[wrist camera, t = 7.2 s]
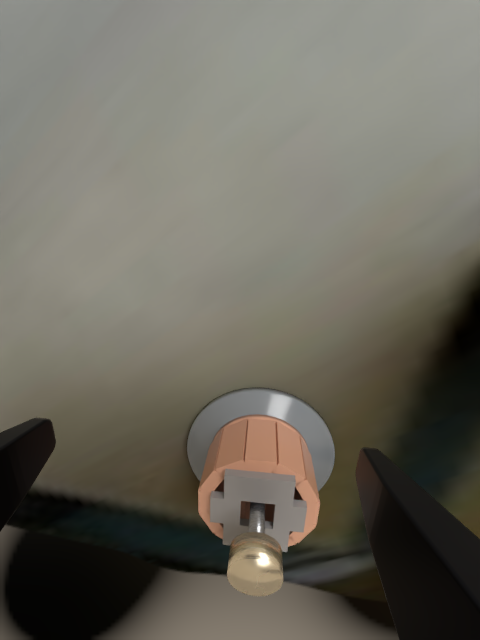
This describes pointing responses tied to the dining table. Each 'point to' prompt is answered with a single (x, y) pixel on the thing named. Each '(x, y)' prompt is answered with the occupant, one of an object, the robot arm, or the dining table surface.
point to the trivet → (262, 404)
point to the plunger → (255, 558)
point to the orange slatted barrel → (259, 480)
